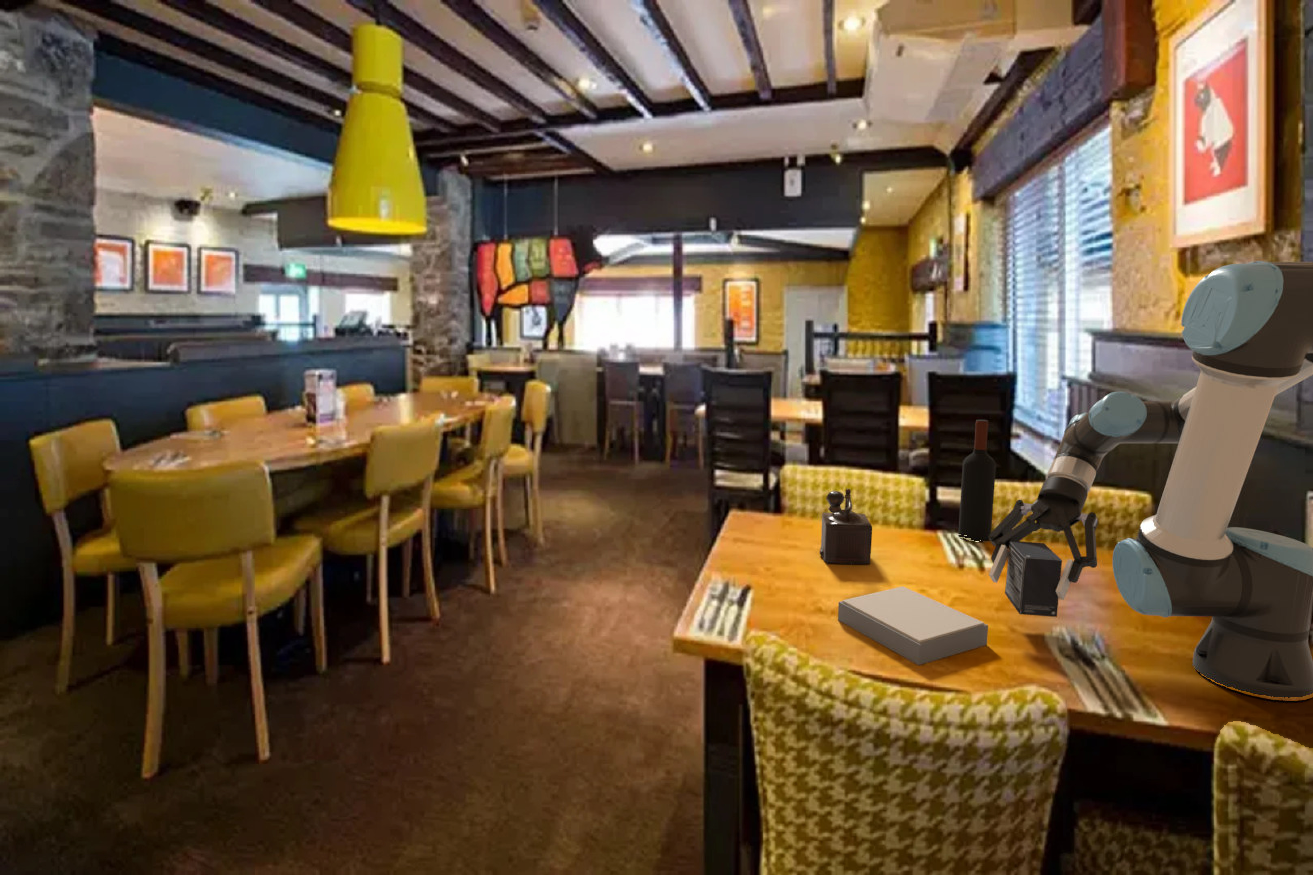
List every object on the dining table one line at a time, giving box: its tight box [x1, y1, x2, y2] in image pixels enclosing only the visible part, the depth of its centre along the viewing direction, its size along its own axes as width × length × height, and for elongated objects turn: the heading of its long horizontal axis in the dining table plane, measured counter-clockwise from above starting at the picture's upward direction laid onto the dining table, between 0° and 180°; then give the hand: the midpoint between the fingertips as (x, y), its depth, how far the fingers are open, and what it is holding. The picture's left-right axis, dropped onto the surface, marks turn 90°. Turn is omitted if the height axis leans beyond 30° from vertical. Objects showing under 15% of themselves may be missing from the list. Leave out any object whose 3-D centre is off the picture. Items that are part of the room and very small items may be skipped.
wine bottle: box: [957, 419, 997, 543], centre depth 183 cm, size 8×8×30 cm
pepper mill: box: [819, 488, 873, 566], centre depth 169 cm, size 16×11×18 cm
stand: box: [837, 585, 989, 666], centre depth 132 cm, size 20×16×4 cm
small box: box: [1004, 540, 1063, 618], centre depth 131 cm, size 11×6×10 cm, turn 168°
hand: (1025, 586), depth 129 cm, fingers closed on small box, 11 cm apart
